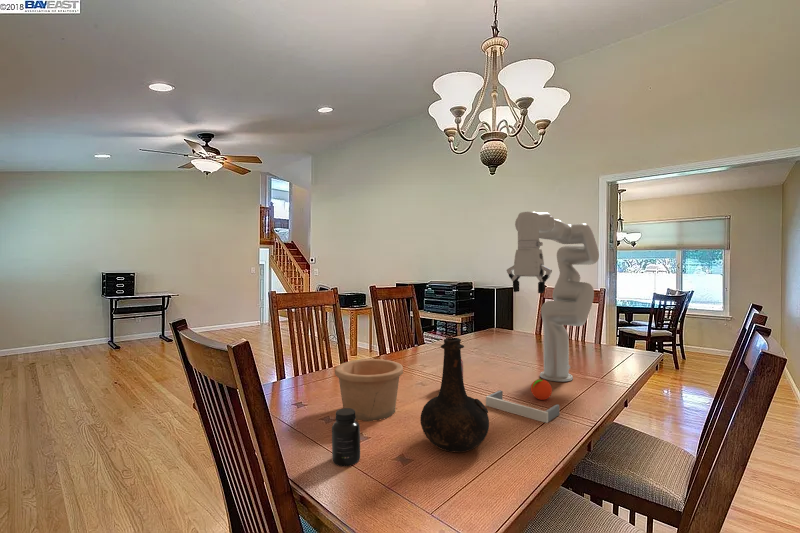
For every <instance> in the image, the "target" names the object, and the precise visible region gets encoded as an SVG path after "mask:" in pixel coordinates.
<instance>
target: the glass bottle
mask: <svg viewBox="0 0 800 533" xmlns="http://www.w3.org/2000/svg"><path fill="white" fill-rule="evenodd" d="M461 341H462V339H461V338H459V337H446V338H444V339H443V344H441V345H440V348H441V349H443V364H442V365H443V367H442V376H441V383H440V388H439V393H438V394H437V395H436V396H435V397H433V398H431V399H429V400H428V401H427V402H426V403H425V405H424V406H423V407H422V410H421V413H420V421H419V422H420V425H421V429H422V432H423V434H424V435H425V437H426V438H427V439H428V441H429V442H430V443H431V444H432V445H434V446H435V447H437V448H438V449H441V450H443V451H446V452H451V453H463V452H469V451H472V450H474V449H475V448H476V447H478V446H480V445H481V444H482V442H483V441H484V440H485V438H486V437H487V435H488V432H489V427H490V419H489V410H488V409H487V406H486V404H483V403H482V401H481V400H480V399H478V398H473V397H471V396H468V394H467V392H466V389H465V384H464V383H465V382H464V374H463V375H462V366H461V359H462V354H461V353H462V352H461V351H462V350H461V349H464V348H465V346H464V344H461Z"/></svg>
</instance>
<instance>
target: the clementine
mask: <svg viewBox="0 0 800 533" xmlns="http://www.w3.org/2000/svg"><path fill="white" fill-rule="evenodd" d="M530 390H531V394H532V395H533V396H534V398H536V399H538V400H541V401H544V400H547V399H549V398H550V397H551V395H552V393H553V388H552V385H551V384H550V382H549V381H548V380H546V379H543V378H538V379H535V380H534V381H533V382H532V384H531V386H530Z"/></svg>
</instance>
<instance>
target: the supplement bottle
mask: <svg viewBox="0 0 800 533" xmlns="http://www.w3.org/2000/svg"><path fill="white" fill-rule="evenodd" d="M334 418H335V421H334V423H333V424H332V426H331V457H332V462H333V464H335V465H337V466H338V465H339V466H338V467H351V466H354V465H356V464H357V463H358V462H359V461H360V459H361V427H360V426H361V425H360V423H359V421H358V420H355V419H356V416H355V410H354V409H351V408H343V407H342V408H340V409H338V410H336V411H335V417H334ZM355 463H356V464H355ZM353 464H354V465H353ZM350 465H351V466H350Z"/></svg>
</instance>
